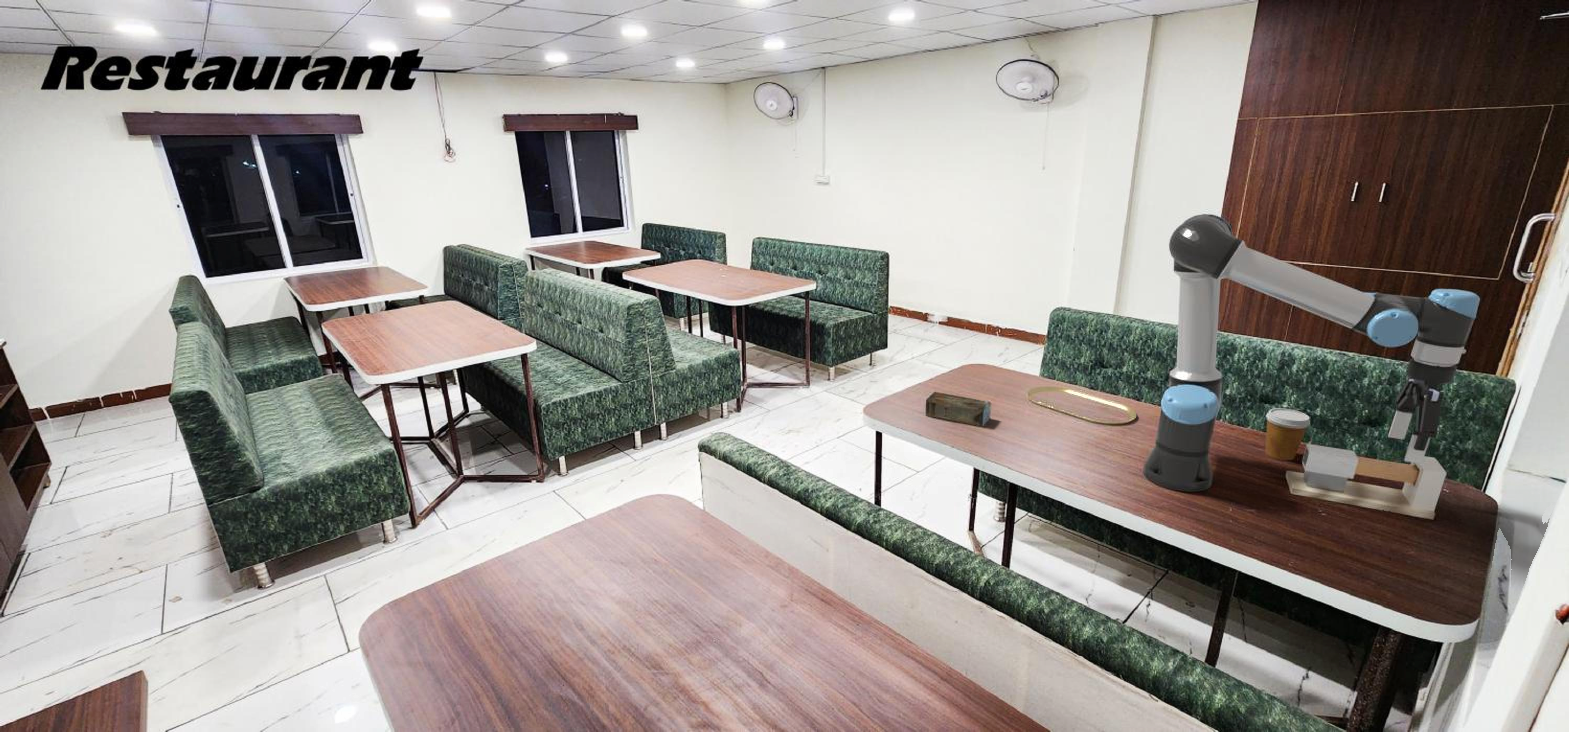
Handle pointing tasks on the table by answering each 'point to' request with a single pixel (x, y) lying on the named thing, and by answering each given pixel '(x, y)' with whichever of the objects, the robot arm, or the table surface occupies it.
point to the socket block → (1425, 485)
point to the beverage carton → (958, 409)
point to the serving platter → (1087, 396)
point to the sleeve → (1328, 467)
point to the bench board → (1359, 496)
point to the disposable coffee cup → (1285, 432)
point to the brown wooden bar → (1387, 470)
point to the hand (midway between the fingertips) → (1403, 449)
